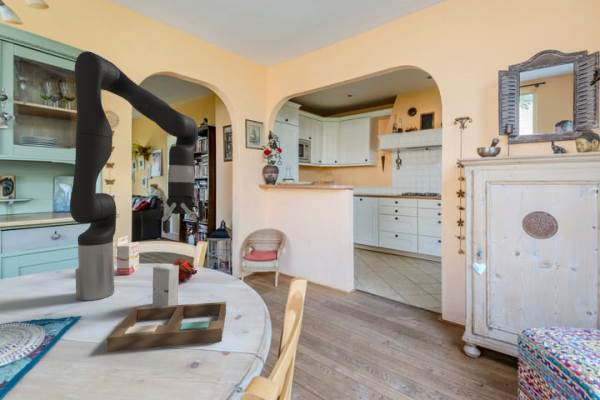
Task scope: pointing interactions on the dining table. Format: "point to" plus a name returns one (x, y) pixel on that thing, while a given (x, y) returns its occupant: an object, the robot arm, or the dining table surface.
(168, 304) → the skincare box
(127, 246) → the ink cartridge box
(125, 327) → the socket block
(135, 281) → the dining table surface
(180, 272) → the dragon fruit
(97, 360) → the dining table surface
